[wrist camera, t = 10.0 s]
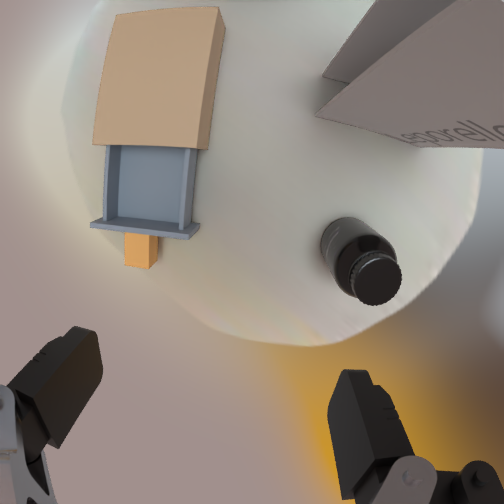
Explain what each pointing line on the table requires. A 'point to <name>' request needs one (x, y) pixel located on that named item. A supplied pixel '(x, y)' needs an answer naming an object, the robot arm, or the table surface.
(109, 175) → the tray
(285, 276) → the table surface
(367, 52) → the grey standing panel
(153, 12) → the sleeve
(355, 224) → the supplement bottle
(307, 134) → the table surface
